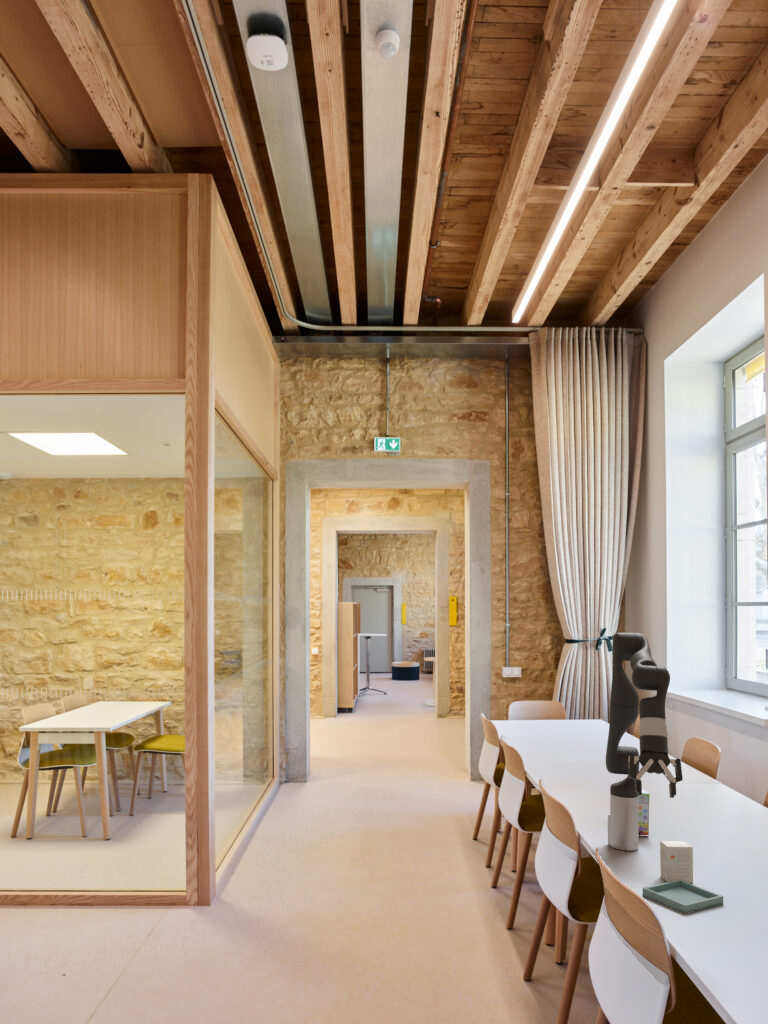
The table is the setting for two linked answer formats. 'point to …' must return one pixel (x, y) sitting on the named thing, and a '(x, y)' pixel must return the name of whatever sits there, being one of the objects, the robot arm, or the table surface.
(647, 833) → the snack box
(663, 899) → the tray
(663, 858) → the small box
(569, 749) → the table surface
